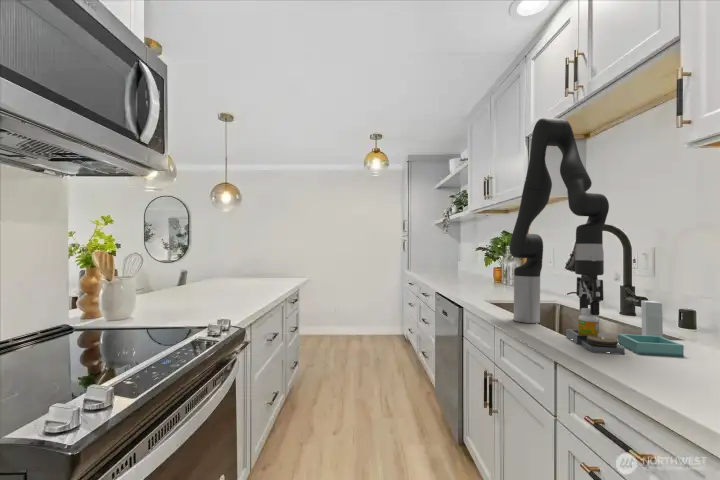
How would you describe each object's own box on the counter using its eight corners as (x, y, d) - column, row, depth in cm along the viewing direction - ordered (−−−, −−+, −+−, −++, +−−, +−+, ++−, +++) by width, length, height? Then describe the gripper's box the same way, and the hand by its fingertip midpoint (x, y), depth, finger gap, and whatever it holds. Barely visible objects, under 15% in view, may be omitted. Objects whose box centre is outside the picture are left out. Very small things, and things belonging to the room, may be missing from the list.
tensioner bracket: (566, 336, 125) (566, 322, 125) (598, 338, 123) (599, 324, 123) (589, 352, 107) (589, 335, 107) (627, 354, 105) (627, 337, 105)
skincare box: (663, 343, 118) (664, 303, 118) (645, 342, 120) (645, 302, 120) (657, 339, 124) (657, 300, 124) (640, 338, 126) (640, 299, 126)
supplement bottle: (574, 340, 120) (575, 308, 120) (582, 338, 123) (583, 307, 123) (594, 344, 116) (594, 311, 116) (601, 342, 119) (602, 309, 119)
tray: (618, 344, 117) (618, 333, 117) (659, 346, 115) (659, 336, 115) (636, 353, 106) (637, 342, 106) (683, 356, 104) (683, 345, 104)
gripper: (567, 258, 128) (567, 309, 127) (584, 259, 114) (584, 316, 113) (593, 259, 126) (593, 310, 126) (613, 259, 112) (613, 317, 112)
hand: (589, 312), depth 119 cm, fingers open, 8 cm apart
